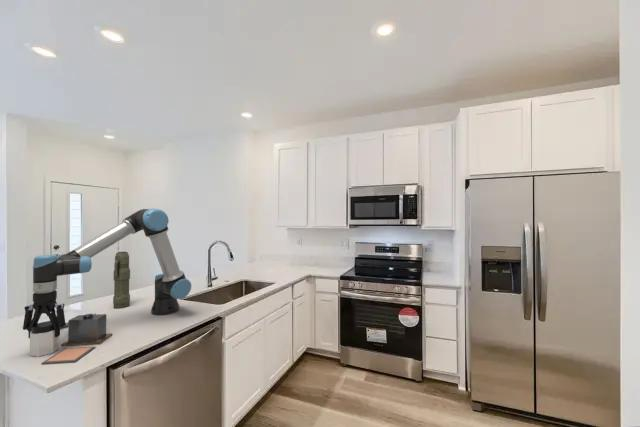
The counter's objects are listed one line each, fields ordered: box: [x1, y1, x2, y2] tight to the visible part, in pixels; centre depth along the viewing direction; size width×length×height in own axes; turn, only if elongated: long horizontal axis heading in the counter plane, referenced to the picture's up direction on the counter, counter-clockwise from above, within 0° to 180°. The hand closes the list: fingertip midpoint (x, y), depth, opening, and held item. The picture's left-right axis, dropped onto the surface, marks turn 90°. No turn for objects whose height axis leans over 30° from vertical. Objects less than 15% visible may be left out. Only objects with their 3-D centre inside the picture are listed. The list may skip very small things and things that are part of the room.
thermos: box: [112, 251, 131, 310], centre depth 188 cm, size 9×12×35 cm
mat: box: [41, 345, 96, 366], centre depth 122 cm, size 12×13×1 cm
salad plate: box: [38, 308, 97, 328], centre depth 160 cm, size 21×21×3 cm
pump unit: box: [60, 313, 113, 347], centre depth 137 cm, size 16×10×12 cm, turn 98°
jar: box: [29, 321, 59, 358], centre depth 125 cm, size 9×8×12 cm
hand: (44, 344), depth 125 cm, fingers closed on jar, 7 cm apart
